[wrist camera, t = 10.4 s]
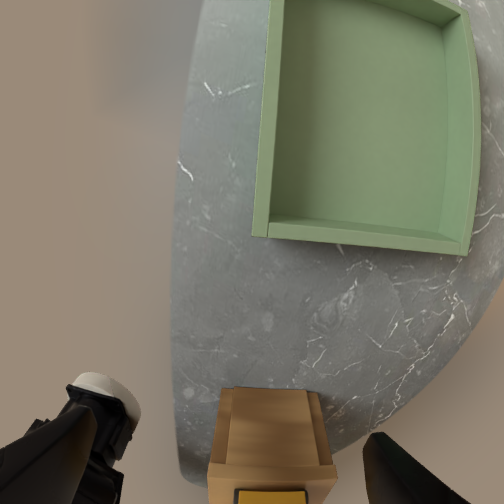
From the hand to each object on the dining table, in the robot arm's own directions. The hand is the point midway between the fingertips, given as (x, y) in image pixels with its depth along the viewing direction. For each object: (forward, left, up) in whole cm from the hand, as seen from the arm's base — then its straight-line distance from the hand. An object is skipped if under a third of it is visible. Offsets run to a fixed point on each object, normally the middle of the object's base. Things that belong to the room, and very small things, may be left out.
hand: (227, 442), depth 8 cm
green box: (+7, +13, -12) cm, 19 cm away
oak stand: (+3, -13, -12) cm, 18 cm away
